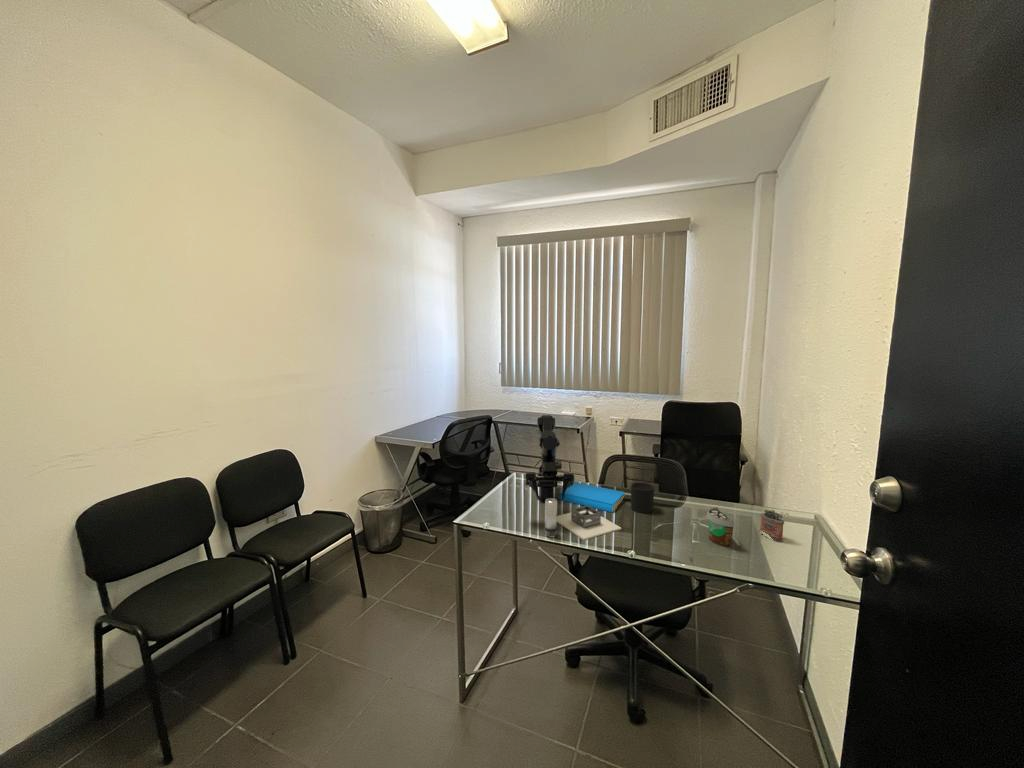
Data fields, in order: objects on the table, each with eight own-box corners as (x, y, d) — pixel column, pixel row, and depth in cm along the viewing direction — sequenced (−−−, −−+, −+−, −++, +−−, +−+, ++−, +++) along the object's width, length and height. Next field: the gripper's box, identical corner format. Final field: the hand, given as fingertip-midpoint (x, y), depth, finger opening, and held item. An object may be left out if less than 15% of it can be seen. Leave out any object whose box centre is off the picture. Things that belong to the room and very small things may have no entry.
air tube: (542, 533, 148) (542, 499, 147) (552, 530, 150) (552, 497, 149) (548, 538, 144) (549, 503, 143) (559, 535, 146) (560, 501, 145)
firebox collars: (571, 520, 157) (571, 509, 157) (587, 516, 161) (587, 505, 161) (584, 528, 150) (584, 516, 150) (600, 524, 154) (600, 512, 154)
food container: (699, 532, 150) (700, 506, 149) (715, 532, 149) (717, 506, 148) (714, 548, 137) (716, 520, 136) (732, 549, 137) (734, 521, 136)
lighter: (757, 533, 149) (758, 507, 148) (763, 531, 150) (764, 506, 149) (778, 543, 141) (780, 516, 140) (784, 541, 143) (787, 514, 142)
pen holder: (658, 510, 169) (659, 487, 168) (643, 515, 164) (644, 492, 163) (639, 503, 177) (640, 481, 176) (625, 507, 171) (626, 485, 170)
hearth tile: (552, 518, 160) (552, 517, 160) (587, 509, 169) (587, 508, 169) (583, 540, 143) (583, 538, 143) (621, 529, 151) (621, 527, 151)
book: (573, 481, 193) (625, 491, 180) (573, 490, 194) (625, 500, 180) (558, 492, 179) (612, 503, 166) (558, 501, 179) (612, 514, 166)
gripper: (525, 452, 154) (525, 490, 145) (574, 453, 154) (577, 491, 144) (525, 466, 163) (525, 502, 153) (571, 466, 163) (574, 503, 153)
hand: (550, 500), depth 150 cm, fingers open, 9 cm apart
